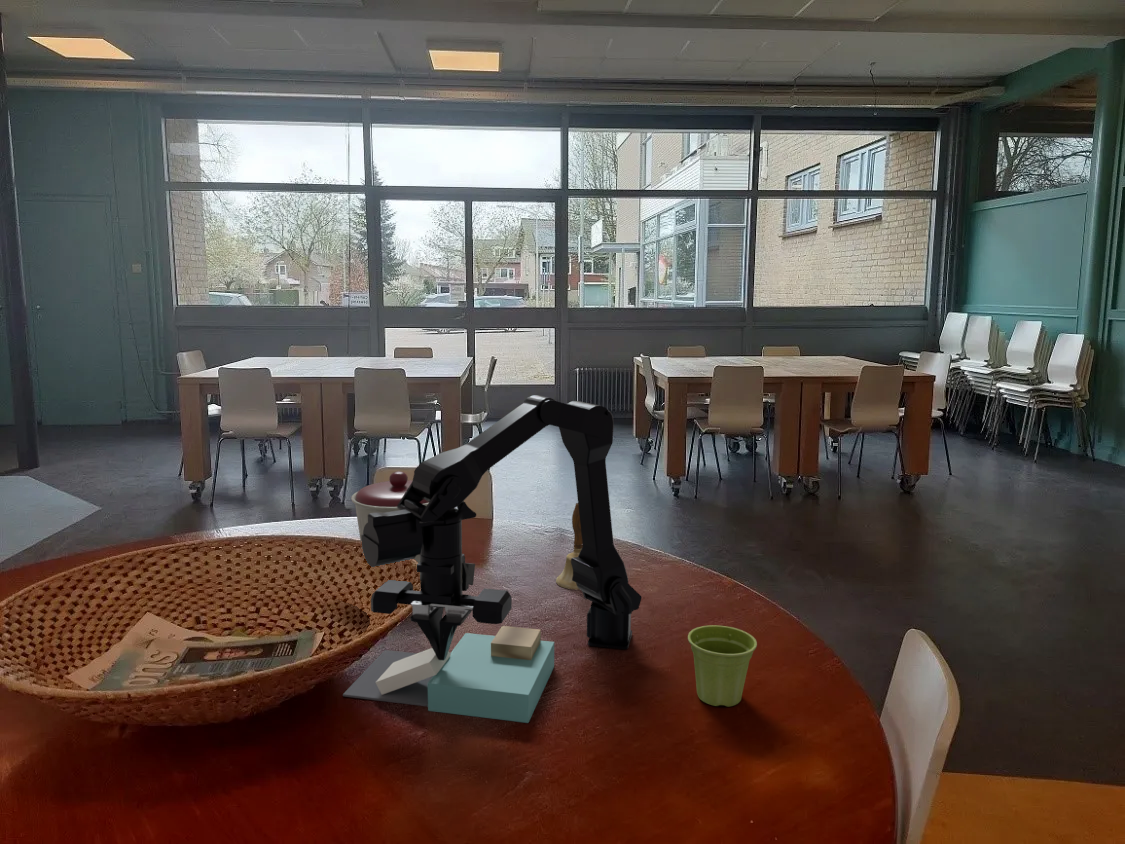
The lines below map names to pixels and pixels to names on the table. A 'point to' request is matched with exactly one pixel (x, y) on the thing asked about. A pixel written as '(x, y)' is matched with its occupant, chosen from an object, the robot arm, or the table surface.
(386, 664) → the mat
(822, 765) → the table surface
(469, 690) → the plate
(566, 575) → the hand bell
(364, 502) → the canister
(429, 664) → the white box
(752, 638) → the plant pot
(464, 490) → the robot arm
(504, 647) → the oak tile
